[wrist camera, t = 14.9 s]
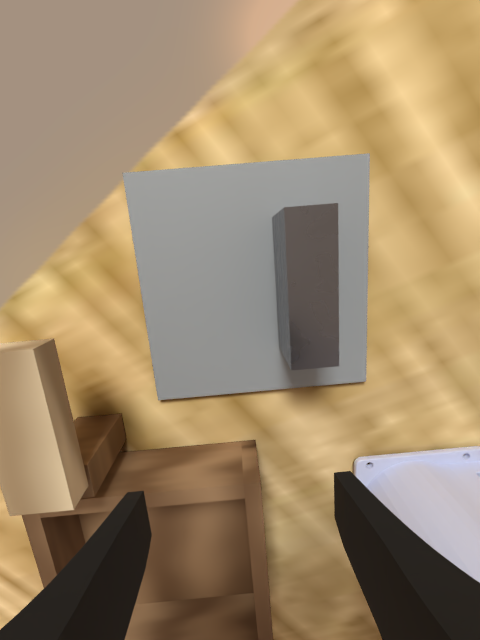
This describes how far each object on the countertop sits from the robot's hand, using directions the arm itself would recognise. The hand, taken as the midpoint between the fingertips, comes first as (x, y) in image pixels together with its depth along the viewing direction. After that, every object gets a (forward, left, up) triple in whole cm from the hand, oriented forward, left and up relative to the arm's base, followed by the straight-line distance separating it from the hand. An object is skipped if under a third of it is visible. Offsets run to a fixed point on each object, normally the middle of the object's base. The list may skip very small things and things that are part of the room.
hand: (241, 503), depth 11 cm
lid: (-2, -7, -10) cm, 12 cm away
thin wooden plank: (+9, -2, -4) cm, 11 cm away
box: (+6, +9, -9) cm, 15 cm away
